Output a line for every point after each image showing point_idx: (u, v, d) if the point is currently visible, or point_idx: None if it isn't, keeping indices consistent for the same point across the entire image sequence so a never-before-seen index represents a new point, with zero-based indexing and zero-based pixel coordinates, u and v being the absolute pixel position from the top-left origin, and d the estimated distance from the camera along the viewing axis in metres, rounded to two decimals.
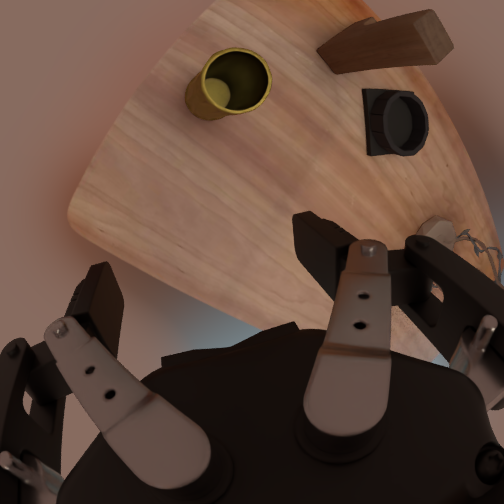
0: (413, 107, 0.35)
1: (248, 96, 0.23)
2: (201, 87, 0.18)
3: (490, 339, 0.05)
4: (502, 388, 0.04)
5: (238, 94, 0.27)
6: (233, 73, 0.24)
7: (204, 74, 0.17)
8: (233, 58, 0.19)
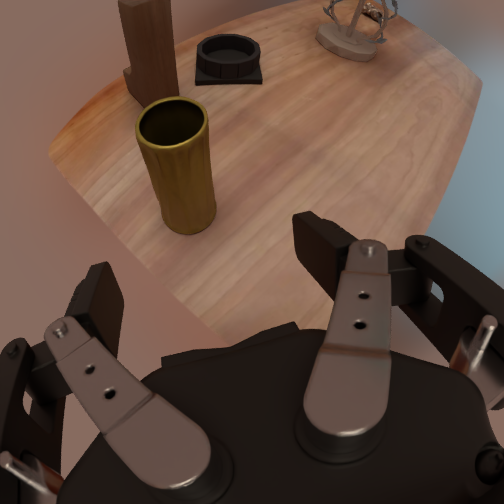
0: (212, 46, 0.38)
1: None
2: (170, 149, 0.17)
3: (490, 339, 0.05)
4: (502, 387, 0.04)
5: None
6: None
7: (157, 145, 0.17)
8: (148, 140, 0.20)
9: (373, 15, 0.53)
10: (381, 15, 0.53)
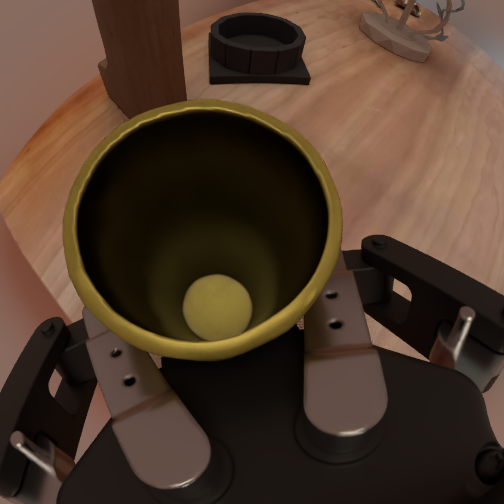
0: (231, 29, 0.25)
1: (239, 216, 0.10)
2: (217, 358, 0.04)
3: (469, 329, 0.05)
4: (491, 373, 0.04)
5: (223, 253, 0.14)
6: (175, 257, 0.13)
7: (154, 339, 0.04)
8: (123, 236, 0.07)
9: None
10: (418, 9, 0.40)
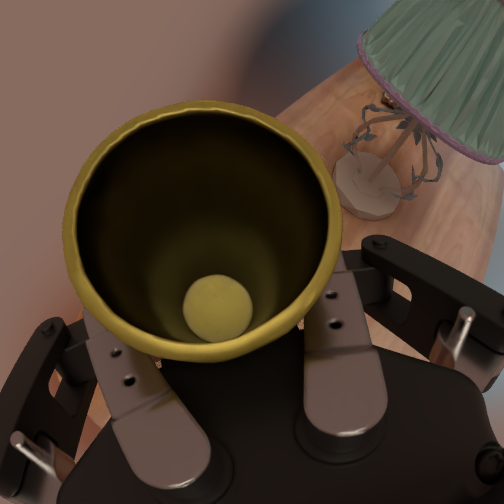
0: None
1: (239, 217, 0.10)
2: (217, 360, 0.04)
3: (469, 329, 0.05)
4: (491, 373, 0.04)
5: (223, 253, 0.14)
6: (175, 257, 0.13)
7: (153, 341, 0.04)
8: (123, 237, 0.07)
9: None
10: None
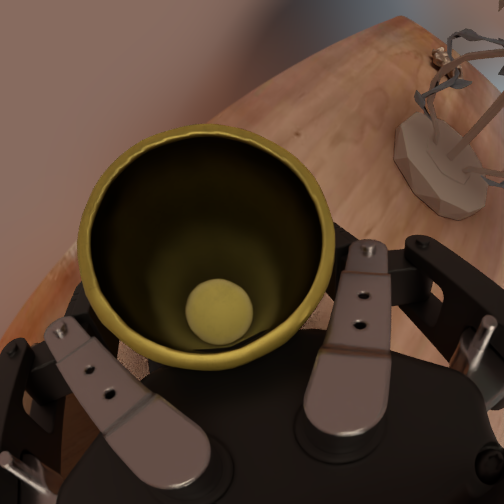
0: None
1: (240, 228, 0.11)
2: (222, 368, 0.05)
3: (490, 339, 0.05)
4: (502, 388, 0.04)
5: (225, 260, 0.15)
6: (178, 264, 0.13)
7: (166, 353, 0.05)
8: (131, 251, 0.08)
9: (450, 72, 0.33)
10: None
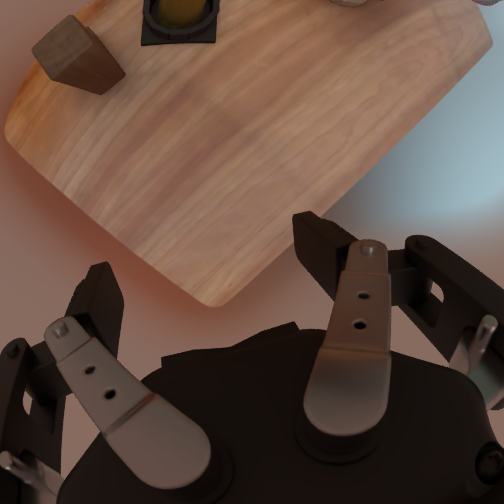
0: None
1: None
2: None
3: (490, 339, 0.05)
4: (502, 388, 0.04)
5: None
6: None
7: None
8: None
9: None
10: None
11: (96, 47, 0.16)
